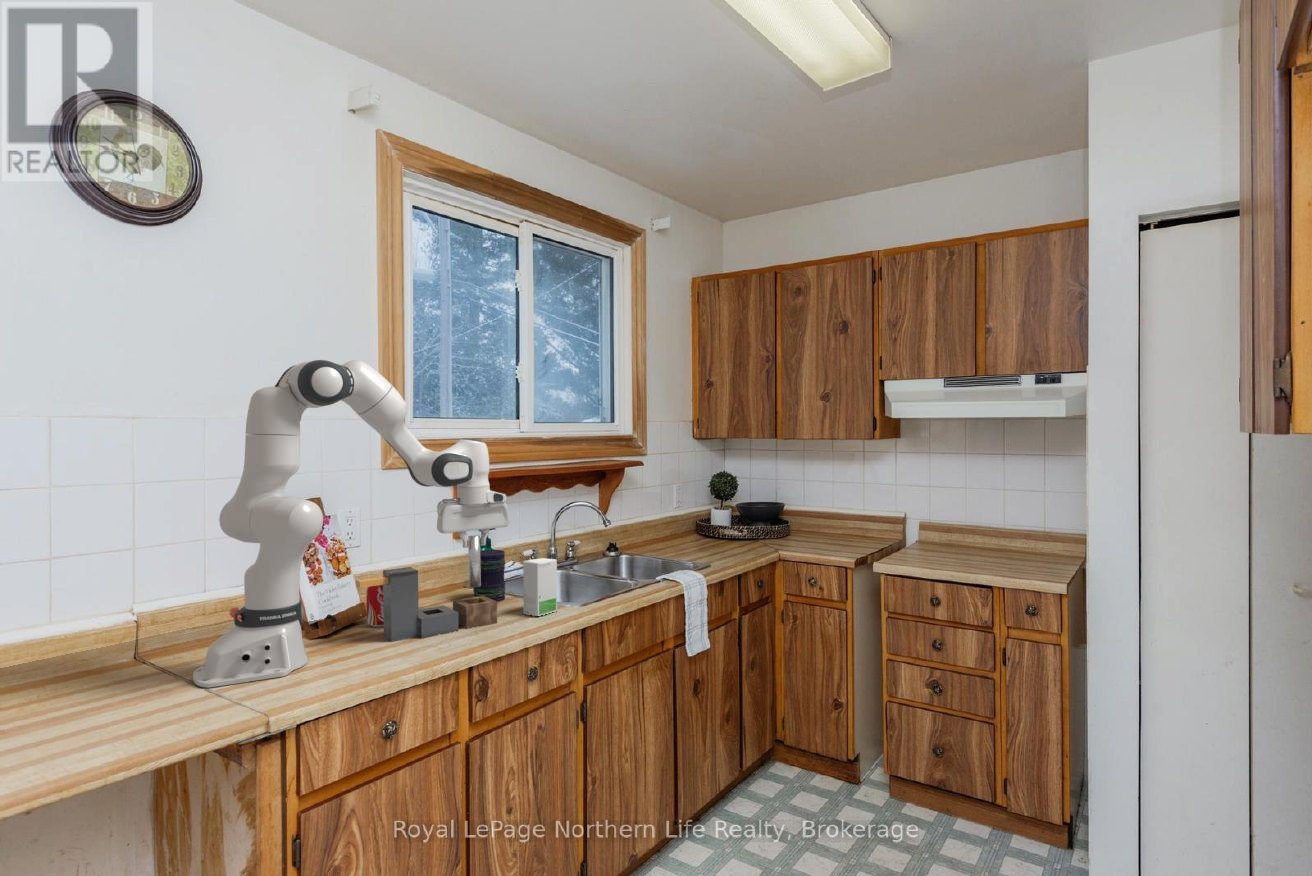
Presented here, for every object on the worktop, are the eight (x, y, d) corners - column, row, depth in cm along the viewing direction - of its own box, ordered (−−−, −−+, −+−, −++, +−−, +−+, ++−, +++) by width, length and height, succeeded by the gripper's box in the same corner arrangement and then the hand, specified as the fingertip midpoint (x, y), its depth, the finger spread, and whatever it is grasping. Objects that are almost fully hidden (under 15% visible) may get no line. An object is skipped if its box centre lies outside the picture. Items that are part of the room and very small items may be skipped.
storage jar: (509, 596, 226) (509, 550, 226) (499, 603, 217) (499, 555, 216) (479, 595, 227) (479, 549, 227) (468, 603, 218) (468, 555, 217)
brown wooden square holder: (466, 628, 189) (466, 606, 189) (453, 622, 196) (452, 600, 196) (497, 622, 195) (496, 601, 195) (482, 616, 202) (482, 595, 202)
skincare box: (537, 617, 200) (537, 563, 200) (521, 614, 204) (521, 561, 204) (558, 611, 207) (558, 559, 206) (542, 608, 211) (542, 556, 210)
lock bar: (359, 587, 175) (359, 581, 175) (357, 586, 177) (356, 580, 177) (415, 580, 184) (415, 574, 184) (412, 578, 186) (412, 572, 186)
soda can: (371, 630, 189) (371, 585, 189) (363, 624, 194) (362, 581, 194) (397, 625, 193) (397, 581, 193) (389, 619, 199) (388, 577, 199)
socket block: (394, 643, 177) (393, 575, 176) (381, 634, 184) (380, 569, 184) (458, 631, 187) (457, 566, 187) (443, 623, 195) (443, 561, 195)
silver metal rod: (467, 586, 196) (466, 536, 195) (477, 584, 198) (476, 535, 197) (471, 588, 193) (471, 537, 193) (482, 586, 195) (482, 536, 195)
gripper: (441, 500, 186) (442, 552, 186) (511, 495, 199) (512, 543, 199) (432, 498, 191) (433, 549, 191) (501, 493, 204) (501, 540, 204)
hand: (474, 546), depth 195 cm, fingers closed on silver metal rod, 3 cm apart
